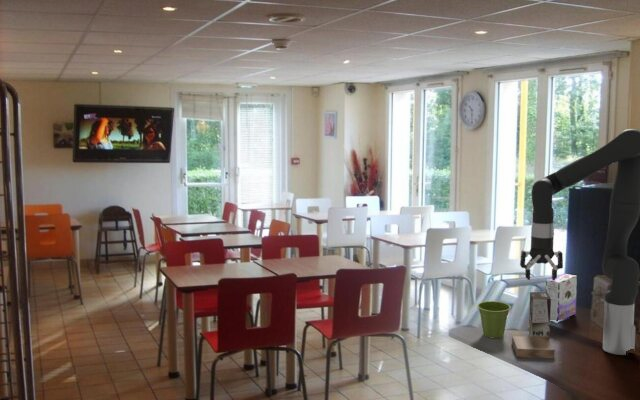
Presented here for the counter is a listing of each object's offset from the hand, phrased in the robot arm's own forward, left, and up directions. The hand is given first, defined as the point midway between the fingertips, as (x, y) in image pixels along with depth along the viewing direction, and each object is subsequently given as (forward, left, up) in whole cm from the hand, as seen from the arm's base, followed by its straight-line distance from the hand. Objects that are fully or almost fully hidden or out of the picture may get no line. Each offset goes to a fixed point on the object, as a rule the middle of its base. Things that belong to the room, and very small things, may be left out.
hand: (540, 279), depth 237 cm
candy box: (-12, -24, -22) cm, 35 cm away
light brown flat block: (+4, +13, -22) cm, 26 cm away
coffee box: (0, 0, -22) cm, 22 cm away
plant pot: (+16, -2, -22) cm, 27 cm away
